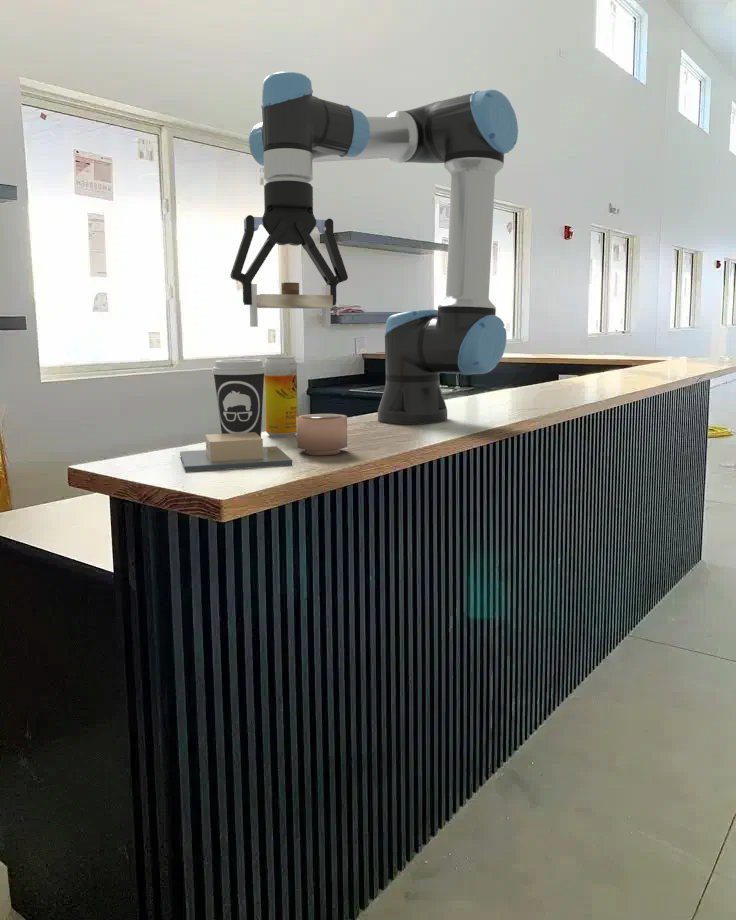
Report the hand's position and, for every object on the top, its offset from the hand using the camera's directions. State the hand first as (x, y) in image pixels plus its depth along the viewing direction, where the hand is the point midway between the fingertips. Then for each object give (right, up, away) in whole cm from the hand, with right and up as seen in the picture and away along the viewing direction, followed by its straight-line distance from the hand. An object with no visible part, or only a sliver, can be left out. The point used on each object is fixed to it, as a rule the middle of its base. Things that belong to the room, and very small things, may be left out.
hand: (290, 326), depth 125 cm
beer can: (-4, -17, +25) cm, 31 cm away
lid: (0, +3, 0) cm, 3 cm away
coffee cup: (-10, -19, +13) cm, 25 cm away
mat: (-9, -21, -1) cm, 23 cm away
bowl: (+5, -20, +6) cm, 21 cm away
